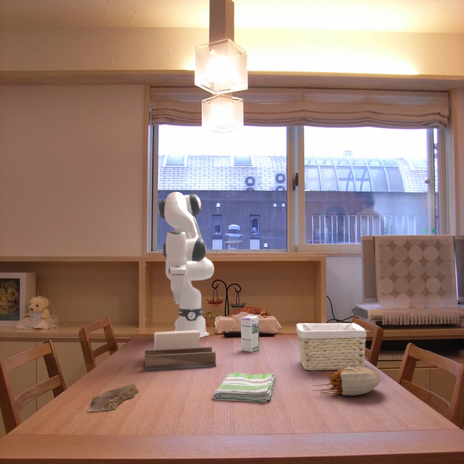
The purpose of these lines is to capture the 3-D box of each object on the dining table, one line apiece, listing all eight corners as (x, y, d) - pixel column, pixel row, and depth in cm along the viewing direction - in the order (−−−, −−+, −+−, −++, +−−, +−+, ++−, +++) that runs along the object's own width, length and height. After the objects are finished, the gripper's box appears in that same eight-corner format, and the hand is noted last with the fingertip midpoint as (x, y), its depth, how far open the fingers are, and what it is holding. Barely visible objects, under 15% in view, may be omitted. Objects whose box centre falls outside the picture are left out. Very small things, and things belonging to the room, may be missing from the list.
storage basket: (301, 371, 154) (300, 330, 154) (295, 360, 170) (295, 322, 170) (368, 371, 153) (367, 330, 153) (357, 360, 169) (356, 322, 170)
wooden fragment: (107, 416, 114) (107, 412, 114) (71, 412, 117) (71, 408, 117) (151, 386, 139) (151, 383, 139) (121, 384, 142) (121, 380, 142)
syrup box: (252, 352, 183) (251, 317, 184) (240, 350, 187) (240, 316, 187) (259, 349, 188) (259, 316, 188) (248, 347, 191) (248, 314, 192)
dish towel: (211, 401, 125) (211, 389, 126) (226, 378, 148) (226, 367, 148) (270, 404, 122) (269, 392, 123) (276, 380, 145) (276, 369, 145)
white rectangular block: (154, 356, 177) (154, 332, 177) (197, 353, 181) (197, 330, 182) (155, 359, 172) (155, 334, 173) (199, 356, 176) (199, 332, 177)
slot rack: (144, 362, 167) (144, 349, 167) (211, 358, 172) (211, 346, 173) (145, 371, 155) (145, 357, 156) (216, 366, 161) (216, 353, 161)
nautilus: (316, 403, 123) (307, 389, 138) (390, 398, 123) (374, 384, 138) (313, 375, 124) (305, 364, 139) (388, 369, 124) (371, 359, 139)
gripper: (167, 268, 188) (167, 300, 187) (170, 270, 168) (170, 305, 167) (182, 268, 189) (182, 300, 188) (186, 269, 169) (186, 305, 168)
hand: (176, 302), depth 177 cm, fingers open, 8 cm apart
